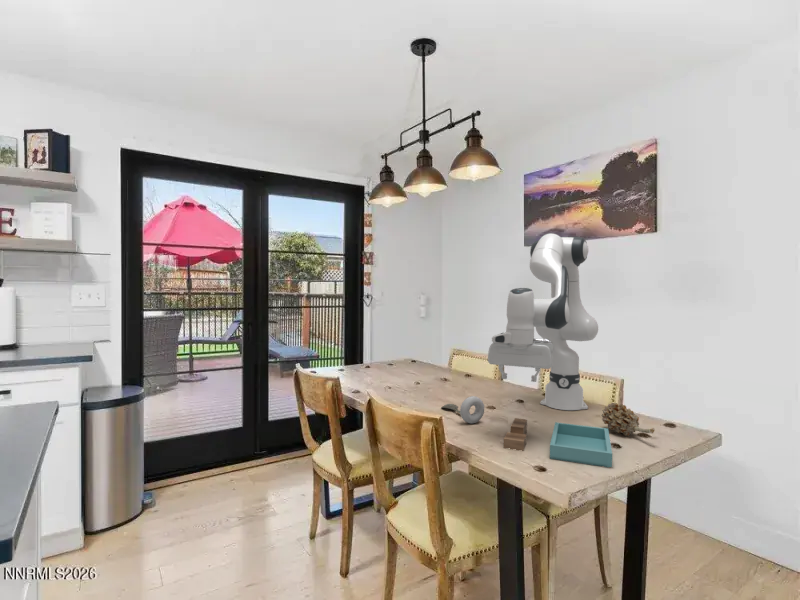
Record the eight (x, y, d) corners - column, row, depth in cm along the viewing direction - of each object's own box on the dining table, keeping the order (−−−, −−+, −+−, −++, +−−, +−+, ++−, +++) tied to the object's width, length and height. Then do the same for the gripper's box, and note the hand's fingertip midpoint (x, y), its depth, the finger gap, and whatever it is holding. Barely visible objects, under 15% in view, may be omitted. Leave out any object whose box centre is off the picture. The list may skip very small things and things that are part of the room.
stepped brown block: (511, 432, 155) (512, 417, 155) (529, 434, 153) (530, 420, 152) (503, 448, 139) (503, 432, 139) (523, 451, 137) (523, 434, 137)
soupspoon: (453, 409, 188) (439, 410, 186) (453, 401, 188) (438, 402, 186) (477, 422, 166) (461, 424, 165) (477, 413, 166) (461, 415, 165)
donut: (463, 426, 160) (463, 398, 160) (457, 423, 163) (458, 396, 163) (486, 423, 165) (486, 396, 164) (480, 420, 168) (481, 393, 167)
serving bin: (554, 433, 154) (555, 422, 153) (607, 440, 147) (608, 428, 147) (549, 458, 131) (550, 445, 131) (611, 467, 125) (612, 453, 125)
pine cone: (592, 428, 160) (593, 400, 160) (613, 425, 164) (614, 398, 164) (647, 449, 140) (647, 417, 140) (669, 445, 143) (670, 414, 143)
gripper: (554, 338, 146) (553, 381, 146) (490, 335, 154) (490, 375, 154) (552, 340, 140) (551, 385, 140) (487, 336, 148) (486, 378, 148)
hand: (518, 380), depth 147 cm, fingers open, 8 cm apart
